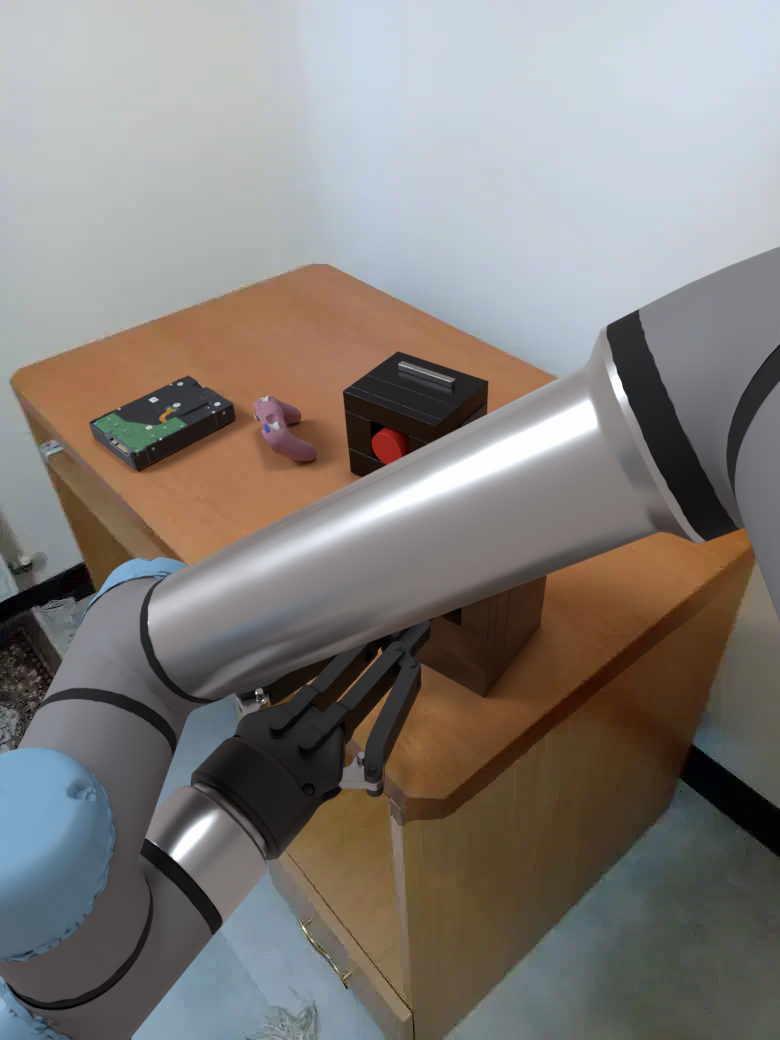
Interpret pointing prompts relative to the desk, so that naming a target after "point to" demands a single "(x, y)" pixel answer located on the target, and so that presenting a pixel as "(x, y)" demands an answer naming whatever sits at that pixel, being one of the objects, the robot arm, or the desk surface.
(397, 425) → the dark button box
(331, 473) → the desk surface
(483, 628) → the box
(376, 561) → the robot arm
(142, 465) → the disk drive
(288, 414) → the video game controller
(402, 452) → the button
